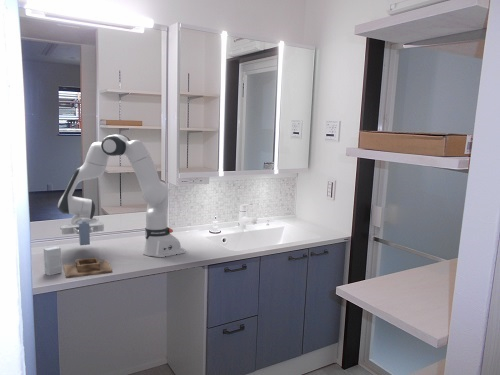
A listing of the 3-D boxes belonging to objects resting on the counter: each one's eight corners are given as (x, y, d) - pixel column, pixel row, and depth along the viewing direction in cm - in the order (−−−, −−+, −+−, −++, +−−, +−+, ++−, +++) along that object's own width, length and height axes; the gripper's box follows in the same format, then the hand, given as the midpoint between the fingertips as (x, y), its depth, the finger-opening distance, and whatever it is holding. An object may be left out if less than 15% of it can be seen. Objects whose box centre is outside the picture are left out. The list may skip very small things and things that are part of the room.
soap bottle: (88, 242, 211) (88, 217, 209) (89, 244, 207) (89, 219, 205) (79, 243, 209) (78, 218, 207) (80, 245, 205) (79, 219, 203)
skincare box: (57, 270, 195) (56, 245, 193) (61, 272, 192) (60, 247, 190) (44, 273, 190) (43, 248, 188) (48, 276, 187) (47, 250, 186)
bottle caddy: (107, 262, 209) (107, 254, 208) (112, 272, 195) (112, 264, 194) (63, 267, 200) (63, 259, 199) (66, 278, 185) (65, 269, 185)
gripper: (59, 221, 213) (61, 227, 201) (101, 218, 223) (105, 223, 211) (60, 233, 214) (61, 239, 202) (101, 229, 224) (105, 235, 212)
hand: (84, 231), depth 206 cm, fingers closed on soap bottle, 4 cm apart
